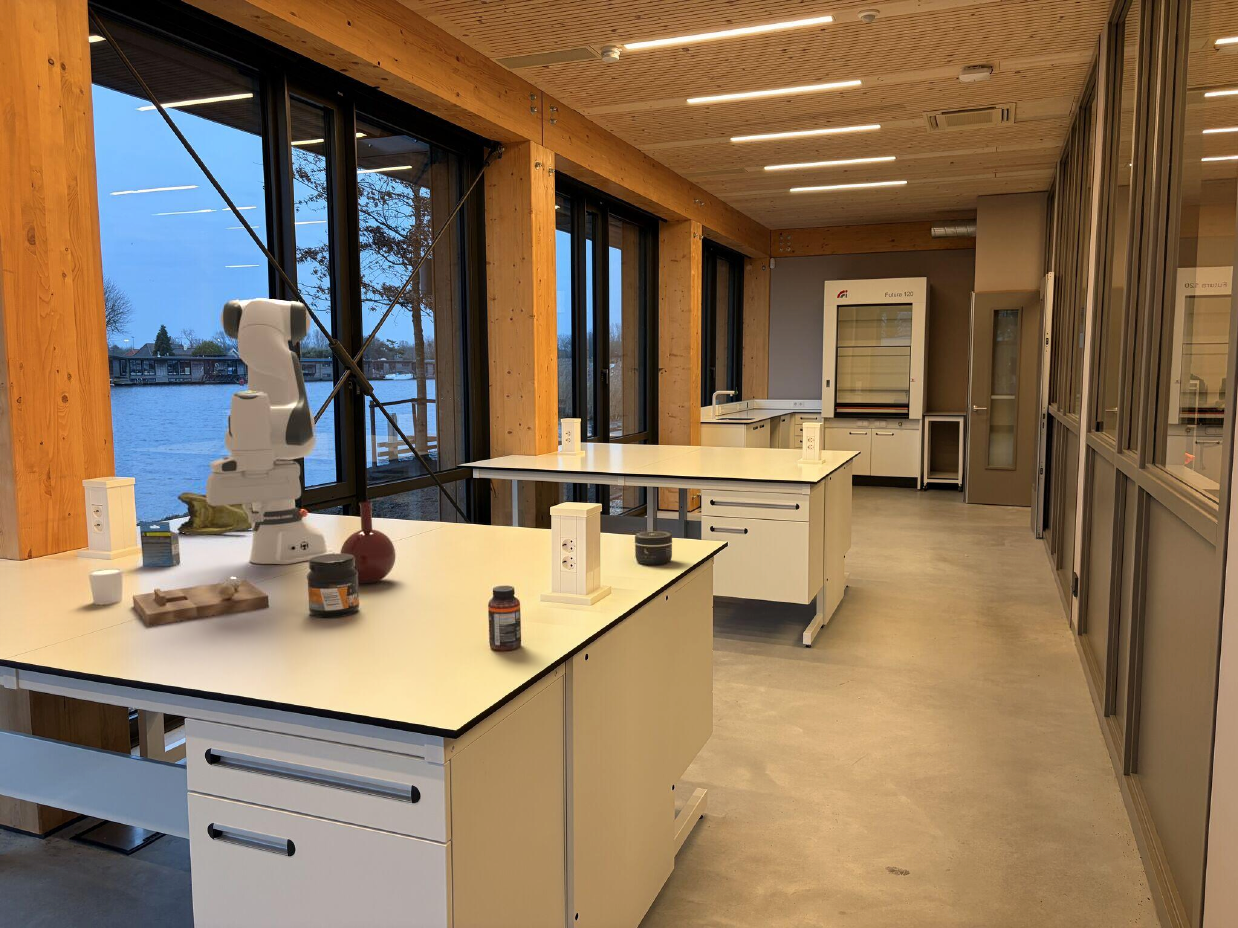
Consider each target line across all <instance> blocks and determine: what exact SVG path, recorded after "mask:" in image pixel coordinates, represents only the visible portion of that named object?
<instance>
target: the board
mask: <svg viewBox="0 0 1238 928" xmlns="http://www.w3.org/2000/svg"><path fill="white" fill-rule="evenodd" d="M239 580H240V582H241V585H240V587H239V588H238V589H237V590H235V594H234V596H233V597H232V598H230V599H227V600H225V599H222V598H221V597H220V596H219V590H220V588H221V587H222V586H224V585H225V583H226V581H225V582H218V583H213V584H205V585H204V584H203V585H197V586H192V587H191V586H190V587H184V588H177V589H176V588H175V589H168V590H161V589H160V588H155V589H154V590H153V591H154V592H147V593H142V594H134V595H132V604H133V605H132V606H133V607H135V608H134V609H135V610H136V612H137V613H138V615H139V616H140V615H141V616H142V617H141V616H140V617H141V619H143V621H144V622H145V623H146V625H147V624H148V625H147V626H148V627H151V626H150V625H152V626H155V625H154V624H159V625H162V624H161V623H165V624H170V623H169V622H171V623H174V622H173V621H177V622H181V621H180V620H183V621H186V620H185V619H190V620H194V619H193V618H196V619H201V617H202V618H206V617H205V616H208V617H213V616H212V615H214V616H219V614H221V615H225V614H224V613H227V614H232V612H233V613H238V612H244V611H243V610H245V611H251V610H257V609H263V608H269V607H270V605H269V603H270V602H269V600H270V599H269V595H268V594H267V593H265V592H263V591H262V590H261V589H260V588H258V587H257V586H255V585H254V584H252V583H251V582H250V581H248V580H247V579H239ZM250 609H251V610H250Z"/></svg>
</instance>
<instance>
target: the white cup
mask: <svg viewBox="0 0 1238 928" xmlns="http://www.w3.org/2000/svg"><path fill="white" fill-rule="evenodd" d="M123 574H124V571H123V569H121V568H106V569H99V570H95V571H91V572H89V573H88V579H89V584H90V585H89V586H90V590H91V595H92V600H93V604H94V605H97V604H99V606H100V605H103V604H105V605H111V604H112V605H113V604H116V603H119V602H122V601H123V577H124V575H123Z"/></svg>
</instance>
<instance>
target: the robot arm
mask: <svg viewBox="0 0 1238 928" xmlns="http://www.w3.org/2000/svg"><path fill="white" fill-rule="evenodd" d="M222 308H223V309H222V310H221V314H220V323H221V328H222V330H223V331H224V334H225V335H226V336H227V337H228V338H230V339H233V340H237V351H238V355H239V357H240V359H241V360H242V362H243V364H245V365H247V390H242V391H241V390H240V391H236V392H235V393H233V394H232V398H231V402H230V403H231V404H230V414H229V415H228V416H227V419H228V420H227V422H228V423H227V424H228V428H227V429H226V432H225V434H224V443H225V444H224V445H225V447H226V449H227V451H228V452H229V455H228V456H225V457H222V458H219V459H216V460H214V461H211V462H210V465H209V466H210V467H209V468H210V470H211V471H212V472H211V473H210V474H208V477H207V480H206V486H205V487H206V488H205V489H206V490H205V495H206V501H207V502H208V503H209V504H210V505H212V506H220V505H232V504H242V505H243V509H244V510H245V511H246V513H247V514H248V521H249V522H250V523H251V526H252V532H253V533H252V544H251V551H250V552H251V553H250V556H249V560H248V561H249V562H250V563H254V564H260V565H261V564H263V565H269V564H270V565H272V564H273V565H275V564H277V565H290V564H295V563H300V562H307V561H309V559H310V558H312V557H315V556H320V555H326V554H336V553H335V550H334V548H331V547H330V546H329V547H328V546H327V543H326V540H325V536H324V534H323V533H322V531H320V530H319V529H317V528H316V527H315V526H313V525H311V524H310V523H309V522H307V521H305V520H304V519H303V518H305V517H308V515H309V512H308V511H307V510H306V509H304V508H299V507H296V501H295V500H298V499H299V498H300V497H301V496H302V488H301V481H300V476H301V466H300V464H299V463H298V462H297V461H294V460H296V459H301V458H304V457H308V456H309V455H310V454H311V453H312V452H313V450H314V448H315V446H316V442H317V441H316V439H317V438H316V434H315V430H316V425H315V418H314V415H313V413H312V410H311V408H310V404H309V401H308V394H307V388H306V384H305V380H304V375H303V371H302V367H301V363H300V360H299V357H298V354H297V353H296V352H294V351H292V350H290V347H289V342H290V341H291V342H292V346H293V347H294V346H296V344H297V343H298V342H301V341H303V340H304V339H305V338H306V337H307V336H308V333H309V331H310V328H311V322H312V321H311V315H310V313H309V311H308V309H307V307H306V306H305V304H304V303H302V302H298V301H294V300H291V301H287V300H280V299H273V298H272V299H269V298H264V297H263V298H262V297H261V298H260V297H259V298H254V299H245V300H243V299H242V300H241V299H233V300H228V301H227V302H226V303H225V304H224V305H223V307H222ZM288 341H289V342H288ZM251 504H252V505H253V510H252V511H250V510H249V508H251Z"/></svg>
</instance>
